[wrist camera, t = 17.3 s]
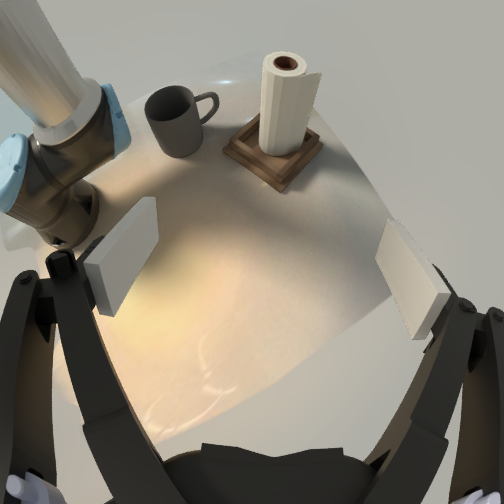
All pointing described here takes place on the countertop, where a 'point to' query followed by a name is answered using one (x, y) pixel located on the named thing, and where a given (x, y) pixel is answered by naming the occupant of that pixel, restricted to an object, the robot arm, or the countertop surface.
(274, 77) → the paper towel roll
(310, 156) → the wooden tray
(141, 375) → the countertop surface
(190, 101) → the mug
